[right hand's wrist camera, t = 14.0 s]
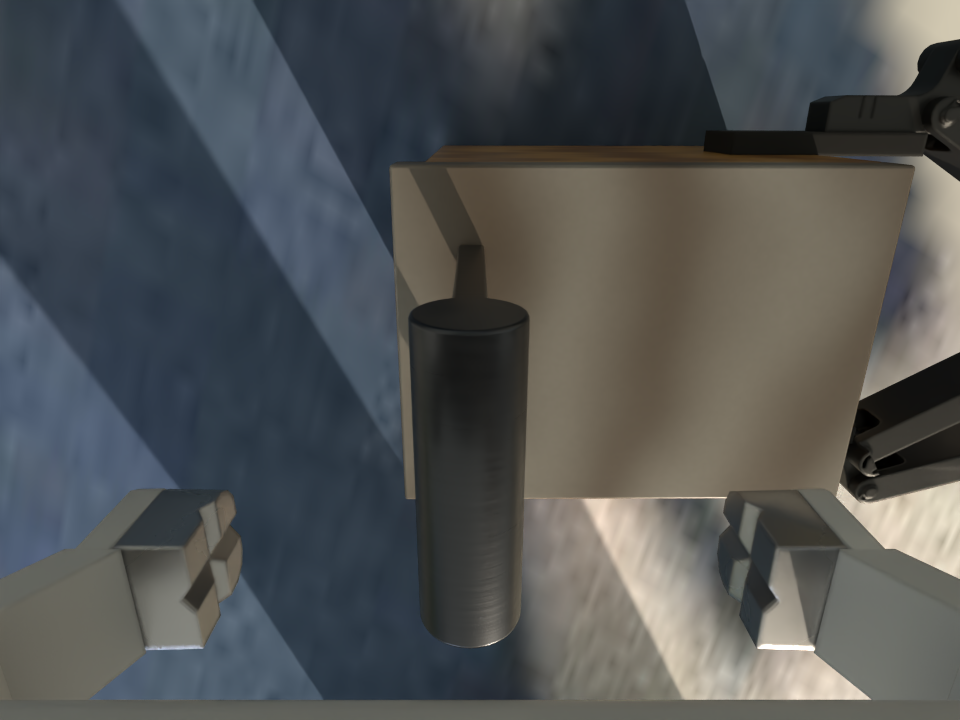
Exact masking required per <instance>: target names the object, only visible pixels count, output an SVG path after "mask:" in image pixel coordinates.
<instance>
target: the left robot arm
mask: <svg viewBox="0 0 960 720" xmlns="http://www.w3.org/2000/svg"><path fill="white" fill-rule="evenodd" d="M917 65H918V72H919V74H918V76H917V77H916V79H915V81H914V82H913V84H912V85H911V87H910V88H909V89H907V90H906V91H905V92H904V93H902V94H900V95H897V96H885V95H876V96H875V95H844V96H828V97H823V98H821V99H818V100H816V101H813V102H811V103H810V106H809V112H808V117H807V123H806V129H805V131H719V130H706V135H705V143H704V151H706V152H713V153H721V154H728V155H821V156H923V154H924V155H925V156H927V157H928V158H929V159H931V160H932V161H933V162H935V163H936V164H937V165H939V166H940V167H941V168H943V169H944V170H945V171H947V172H948V173H949V174H951V175H952V176H953V177H955V178H956V179H957V180H958V181H960V39H959V40H953V41H946V42H940V43H936V44H932V45H930V46H929V47H927V48H926V49H925V50H924V51H923V52H922V54H921V55H920V57H919V60H918V63H917ZM958 481H960V352H959V353H957V354H955V355H953V356H951V357H949V358H947V359H945V360H943V361H941V362H939V363H937V364H934V365H932V366H930V367H928V368H926V369H924V370H922V371H920V372H918V373H916V374H914V375H912V376H910V377H908V378H906V379H904V380H901V381H899V382H897V383H895V384H893V385H891V386H889V387H887V388H885V389H883V390H881V391H879V392H877V393H875V394H873V395H871V396H868V397H866V398H864V399H862V400H860V401H859V403H858V407H857V411H856V415H855V420H854V424H853V428H852V432H851V436H850V440H849V444H848V449H847V453H846V457H845V461H844V465H843V469H842V474H841V478H840V482H839V483H840V484H841V485H842V486H843V487H844V488H845V489H846V490H847V491H848V492H849V493H850V494H851V495H853V496H854V497H855V498H856V499H857V500H858V501H859V502H860V503H864V504H867V503H873V502H877V501H881V500H885V499H889V498H893V497H897V496H901V495H905V494H909V493H913V492H917V491H921V490H925V489H929V488H933V487H937V486H942V485H946V484H950V483H954V482H958Z"/></svg>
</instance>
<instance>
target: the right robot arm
mask: <svg viewBox="0 0 960 720" xmlns="http://www.w3.org/2000/svg"><path fill="white" fill-rule="evenodd" d="M236 514H237V511H236V507H235V502H234V497H233V495H232V494H231V493H230V492H229V491H228V490H198V489H136V490H132V491H130V492H129V493H128V494H127V495H126V496H125V497H124V498H123V499H122V500H121V501H120V502H119V503H118V505H117V506H116V507H115V508H114V509H113V510H112V511H111V512H110V513H109V514H108V515H107V516H106V517H105V518H104V519H103V520H102V521H101V522H100V523H99V524H98V525H97V527H96V528H95V529H94V530H93V531H92V532H91V533H90V534H89V535H88V536H87V537H86V538H85V539H84V540H83V541H82V542H81V543H80V544H79V545H78V546H77V547H76V549H64V550H62V551H60V552H57V553H55V554H53V555H51V556H49V557H47V558H45V559H42V560H40V561H38V562H36V563H34V564H32V565H30V566H27V567H25V568H23V569H21V570H19V571H17V572H15V573H12V574H10V575H8V576H6V577H4V578H2V579H0V720H960V579H958V578H956V577H954V576H952V575H950V574H947V573H945V572H943V571H941V570H939V569H937V568H935V567H932V566H930V565H928V564H926V563H924V562H922V561H920V560H917V559H915V558H913V557H911V556H909V555H907V554H905V553H903V552H900V551H898V550H896V549H885V548H884V547H883V546H882V545H881V544H880V543H879V542H878V541H877V540H876V539H875V538H874V537H873V536H872V535H871V534H870V533H869V532H868V531H867V530H866V529H865V527H864V526H863V525H862V524H861V523H860V522H859V521H858V520H857V519H856V518H855V517H854V516H853V515H852V514H851V513H850V512H849V511H848V510H847V509H846V508H845V507H844V505H843V504H842V503H841V502H840V501H839V500H838V499H837V498H836V497H835V496H834V495H833V494H832V493H831V492H830V491H828V490H825V489H823V488H816V489H791V490H757V491H730V492H729V494H728V496H727V498H726V500H725V506H724V511H723V514H724V515H725V517H726V518H727V520H728V522H729V523H730V526H729V527H728V528H727V529H726V530H725V531H724V532H723V533H722V534H721V535H720V536H719V543H718V551H717V557H718V568H719V573H720V576H721V580H722V583H723V585H724V587H725V589H726V591H727V593H728V595H730V596H731V597H733V598H734V599H736V600H737V601H739V602H740V603H741V608H740V614H739V616H740V618H741V620H742V622H743V623H744V625H745V627H746V629H747V631H748V633H749V635H750V637H751V638H752V640H753V642H754V644H755V646H756V648H759V649H795V650H814V653H815V654H816V655H817V656H819V657H820V658H821V659H822V660H824V661H825V662H826V663H827V664H828V665H830V666H831V667H832V668H833V669H835V670H836V671H837V672H838V673H840V674H841V675H842V676H843V677H845V678H846V679H847V680H848V681H850V682H851V683H852V684H853V685H854V686H856V687H857V688H858V689H859V690H861V691H862V692H863V693H864V694H866V695H867V696H868V697H869V698H871V699H872V700H88V699H90V698H91V697H92V696H93V695H95V694H96V693H97V692H98V691H100V690H101V689H102V688H103V687H105V686H106V685H107V684H108V683H109V682H111V681H112V680H113V679H114V678H116V677H117V676H118V675H119V674H121V673H122V672H123V671H124V670H126V669H127V668H128V667H129V666H131V665H132V664H133V663H134V662H136V661H137V660H138V659H139V658H140V657H142V656H143V655H144V654H145V653H146V650H165V649H200V648H204V646H205V644H206V642H207V640H208V639H209V637H210V635H211V633H212V631H213V629H214V627H215V625H216V623H217V622H218V620H219V618H220V616H221V614H220V608H219V603H220V602H221V601H223V600H224V599H226V598H227V597H229V596H230V595H232V593H233V591H234V589H235V587H236V585H237V583H238V580H239V576H240V571H241V567H242V550H243V549H242V542H241V536H240V535H239V534H238V533H237V532H236V531H235V530H234V529H233V528H232V527H231V526H230V523H231V522H232V520H233V518H234V517H235V515H236Z"/></svg>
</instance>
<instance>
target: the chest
mask: <svg viewBox="0 0 960 720" xmlns="http://www.w3.org/2000/svg"><path fill="white" fill-rule="evenodd" d="M426 162H877V161H868V160H858V159H849V158H839V157H830V156H821V155H728V154H721V153H713V152H706V151H704V146H442V148H440V149H439V150H438V151H437V152H436V153H435V154H434V155H432V156H431V157H430V158H429V159H428V160H427V161H426Z"/></svg>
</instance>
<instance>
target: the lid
mask: <svg viewBox="0 0 960 720" xmlns="http://www.w3.org/2000/svg"><path fill="white" fill-rule="evenodd" d="M914 171H915V167H914V166H912V165H905V164H896V163H887V162H396V163H394V164H392V165H390V167H389V172H390V193H391V214H392V235H393V255H394V276H395V297H396V318H397V339H398V359H399V380H400V401H401V422H402V443H403V464H404V484H405V497H406V499H415V500H416V524H417V549H418V573H419V597H420V615H421V619H422V622H423V624H424V626H425V627H426V629H427V630H428V631H429V633H430V634H432V635H433V636H434V637H435V638H436V639H438V640H440V641H441V642H443V643H446V644H448V645H451V646H455V647H460V648H480V647H485V646H489V645H492V644H494V643H497V642H498V641H500V640H502V639H503V638H505V637H506V636H507V635H508V634H510V633H511V631H512V630H513V629H514V628H515V626H516V624H517V622H518V620H519V617H520V612H521V583H522V551H523V520H524V499H610V498H727V496H728V494H729V492H730V491H757V490H791V489H816V488H823V489H825V490H828V491H830V492H831V493H832V494H833V495H834V496H835V497H836V494H837V490H838V486H839V482H840V478H841V474H842V469H843V465H844V461H845V457H846V453H847V449H848V444H849V440H850V436H851V432H852V428H853V424H854V420H855V415H856V411H857V407H858V403H859V399H860V395H861V391H862V386H863V382H864V378H865V374H866V370H867V366H868V362H869V357H870V353H871V349H872V345H873V341H874V337H875V332H876V328H877V324H878V320H879V316H880V312H881V308H882V303H883V299H884V295H885V291H886V287H887V283H888V279H889V274H890V270H891V266H892V262H893V258H894V254H895V250H896V245H897V241H898V237H899V233H900V229H901V225H902V220H903V216H904V212H905V208H906V204H907V200H908V196H909V191H910V187H911V183H912V179H913V175H914Z"/></svg>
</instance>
